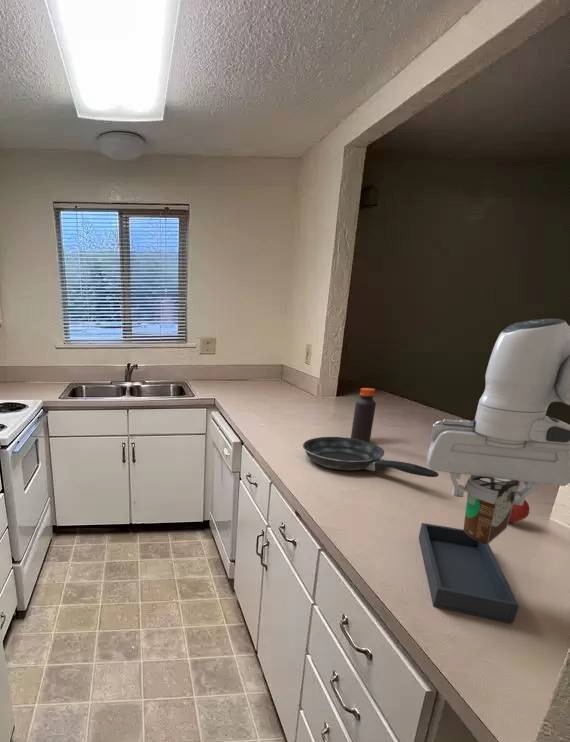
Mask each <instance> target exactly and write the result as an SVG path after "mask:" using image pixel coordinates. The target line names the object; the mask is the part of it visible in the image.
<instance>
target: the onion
mask: <svg viewBox="0 0 570 742" xmlns="http://www.w3.org/2000/svg"><path fill="white" fill-rule="evenodd" d="M529 514H530V504H529V502H528V501H527V500H526V499H525V500H524V503H523V505H515V504H513V508H512V511H511V515H510V518H509V522H508V524H513V523H516V522H519V521H523V520H524V519H526V518H527V517H528V516H529Z"/></svg>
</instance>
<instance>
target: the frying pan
mask: <svg viewBox="0 0 570 742" xmlns="http://www.w3.org/2000/svg"><path fill="white" fill-rule="evenodd" d="M302 449H303V450H304V451H305V453H306V456H307V457H308V458H309V459H310V460H311V461H313V463H315V464H317V465H319V466H322V467H325V468H327V469H328V468H329V469H331V470H339V471H360V470H367V471H374V472H375V473H382V472H385V471H386V470H387V469H388V468H389V469H395V470H397V471H400V472H404V473H406V474H411V475H416V476H422V477H428V478H437V477H439V473H438V471H433V470H431V469H430V468H429V467H428V468H427V467H426V466H421V465H419V464H415V463H412V462H411V463H410V462H406V461H405V462H404V461H399V460H384V459H381V458H382V457H384V456H385V450H384V449H383V448H382V447H380V446H379V445H377V444H374V443H372V442H371V441H370V442H366V441H363V440H358V439H352V438H351V437H342V436H321V437H315V438H310V439H307V440H305V441H304V442H303V443H302ZM380 459H381V460H380Z"/></svg>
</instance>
